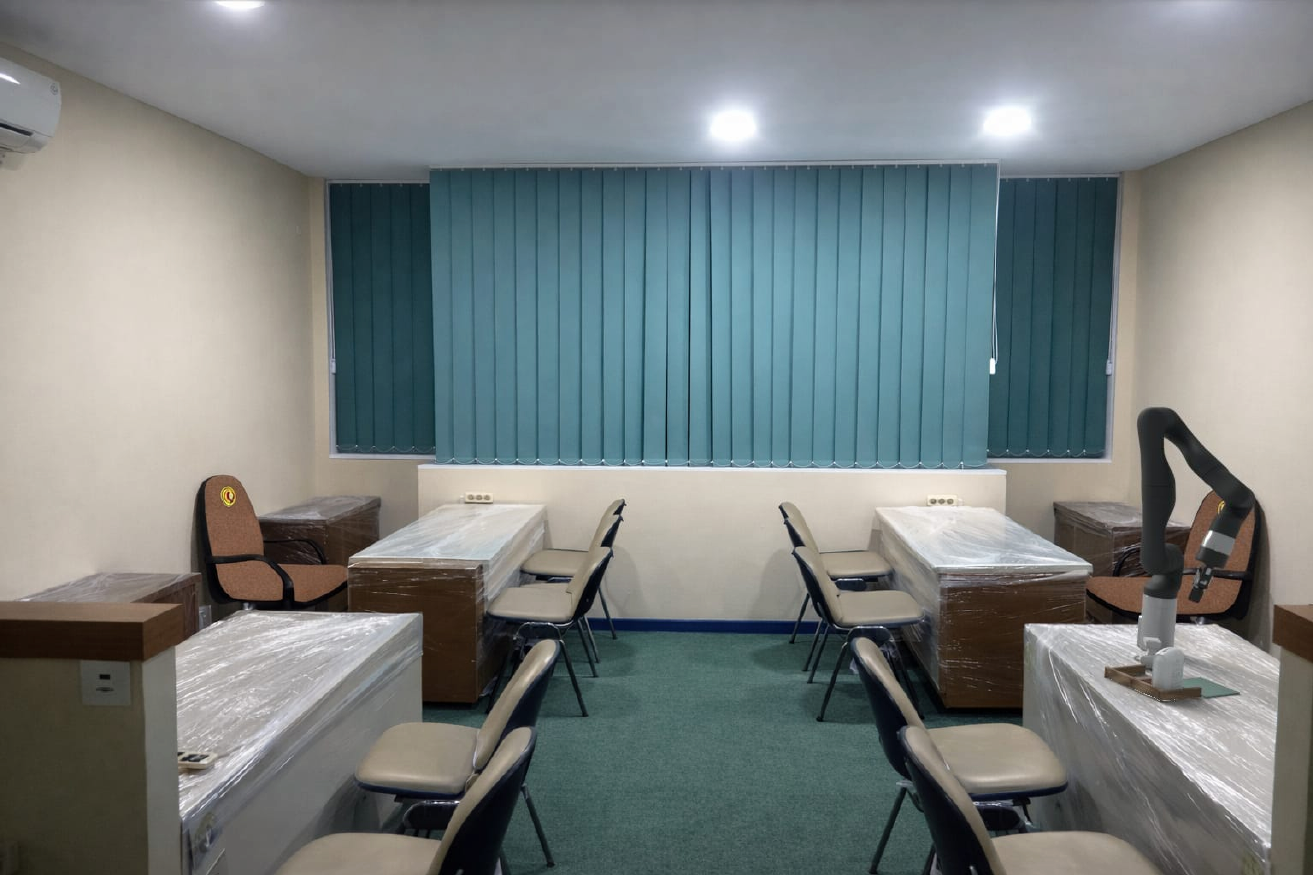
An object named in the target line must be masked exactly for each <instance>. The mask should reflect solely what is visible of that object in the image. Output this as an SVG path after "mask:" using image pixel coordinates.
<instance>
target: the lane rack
mask: <svg viewBox="0 0 1313 875" xmlns="http://www.w3.org/2000/svg"><path fill="white" fill-rule="evenodd" d="M1146 670H1147V668H1146V665H1144V664H1141V663H1140V664H1131V665H1123V666H1112V667H1111V666H1108V665H1107V666H1104V678H1107V679H1108V678H1109V680H1110V679H1112V680H1113V682H1115V683H1117V684H1119V683H1121V684H1123V685H1122V686H1124V685H1125V686H1124V687H1126V686H1127V687H1126V688H1128V687H1130V688H1132V689H1131V690H1133V689H1136V690H1138V691H1140V692H1142V693H1145V694H1147V695H1150V696H1152V697H1155V698H1156V699H1158V700H1160V701H1163V700H1174V699H1175V700H1174V701H1177V700H1176V699H1182V700H1188V699H1187V698H1190V699H1196V698H1202V696H1201V692H1202V688H1201V687H1191V688H1182V689H1175V690H1167V691H1164V690H1162V689H1160V688H1157V687H1155V686H1153V685H1151V683H1152V676H1150V677H1142V678H1141V677H1140V678H1136V677H1134V676H1138V675H1146V674H1145V673H1146ZM1112 680H1111V681H1112ZM1121 684H1120V685H1121ZM1130 688H1129V689H1130ZM1142 693H1141V694H1142Z"/></svg>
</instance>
